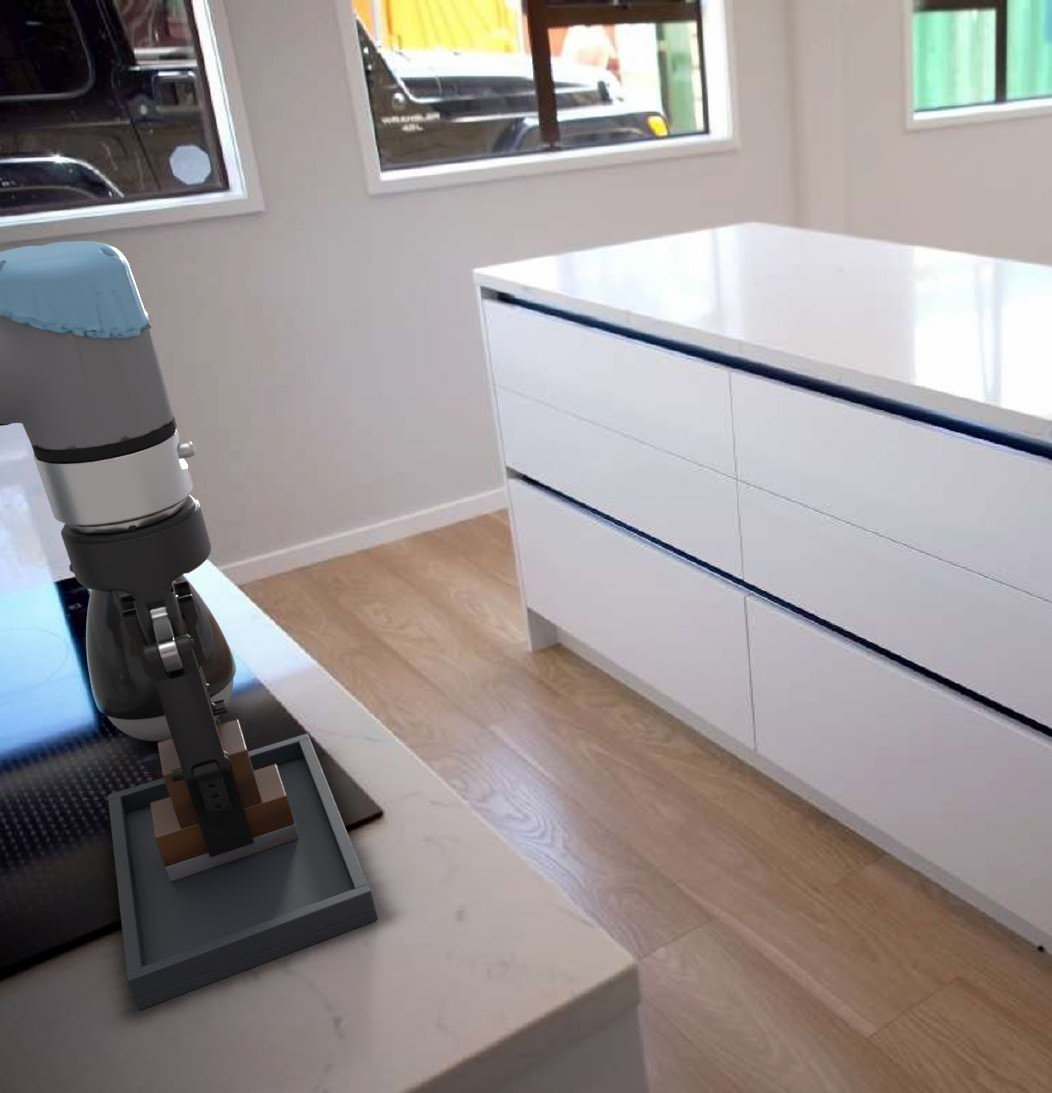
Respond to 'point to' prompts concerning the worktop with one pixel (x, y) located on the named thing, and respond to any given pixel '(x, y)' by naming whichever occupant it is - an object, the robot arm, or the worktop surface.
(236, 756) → the brown t-shaped block
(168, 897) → the tray
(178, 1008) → the worktop surface
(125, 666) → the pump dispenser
